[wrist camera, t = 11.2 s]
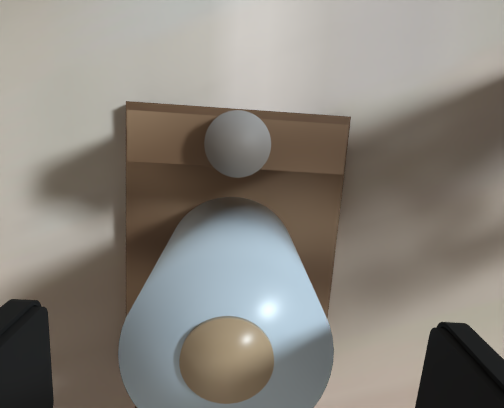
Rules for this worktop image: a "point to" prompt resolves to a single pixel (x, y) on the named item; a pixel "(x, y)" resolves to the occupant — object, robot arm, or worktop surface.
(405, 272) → the worktop surface
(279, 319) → the pale blue rounded cylinder
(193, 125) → the cradle
